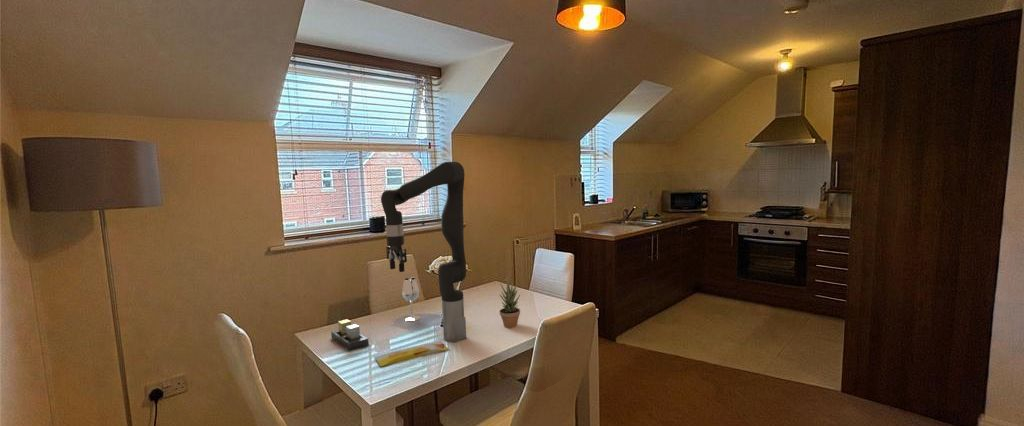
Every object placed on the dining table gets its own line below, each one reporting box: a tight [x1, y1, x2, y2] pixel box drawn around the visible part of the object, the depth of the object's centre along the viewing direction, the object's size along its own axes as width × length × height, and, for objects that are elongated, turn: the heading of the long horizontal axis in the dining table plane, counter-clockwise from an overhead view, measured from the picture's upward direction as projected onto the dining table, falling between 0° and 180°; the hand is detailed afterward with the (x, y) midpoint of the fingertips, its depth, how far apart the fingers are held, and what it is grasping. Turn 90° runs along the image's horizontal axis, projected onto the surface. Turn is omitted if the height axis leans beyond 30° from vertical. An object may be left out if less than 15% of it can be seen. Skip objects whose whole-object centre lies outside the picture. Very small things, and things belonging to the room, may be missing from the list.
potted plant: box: [498, 273, 521, 329], centre depth 197 cm, size 10×10×25 cm
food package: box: [374, 340, 449, 367], centre depth 170 cm, size 27×2×10 cm
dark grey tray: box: [330, 329, 370, 352], centre depth 185 cm, size 20×8×3 cm, turn 42°
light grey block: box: [346, 323, 361, 342], centre depth 181 cm, size 4×4×8 cm
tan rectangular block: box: [337, 319, 352, 336], centre depth 188 cm, size 4×4×8 cm
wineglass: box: [402, 277, 421, 322], centre depth 211 cm, size 8×8×20 cm
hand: (397, 270), depth 193 cm, fingers open, 8 cm apart
